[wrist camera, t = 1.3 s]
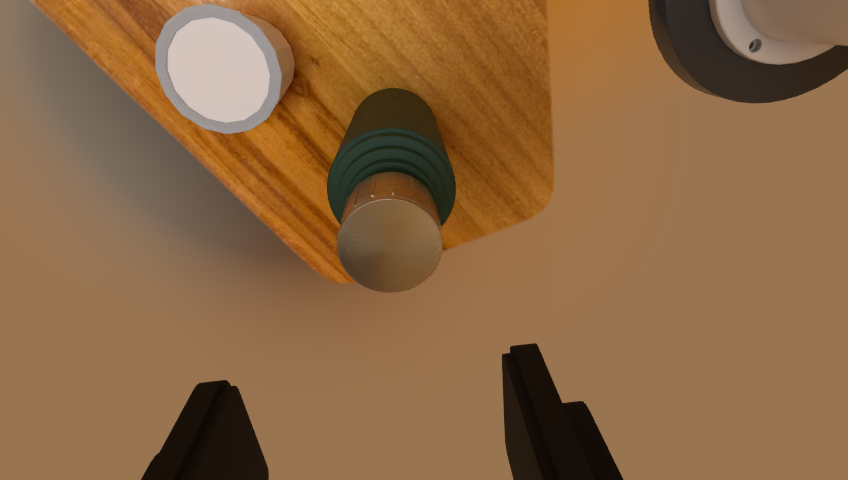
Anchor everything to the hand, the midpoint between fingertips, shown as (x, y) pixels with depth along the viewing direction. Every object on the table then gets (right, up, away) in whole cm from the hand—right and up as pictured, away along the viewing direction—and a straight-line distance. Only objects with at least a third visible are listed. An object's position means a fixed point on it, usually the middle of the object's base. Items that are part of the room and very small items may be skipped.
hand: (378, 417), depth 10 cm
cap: (0, +5, +10) cm, 11 cm away
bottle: (-1, +12, +24) cm, 27 cm away
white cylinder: (-11, +16, +22) cm, 29 cm away
